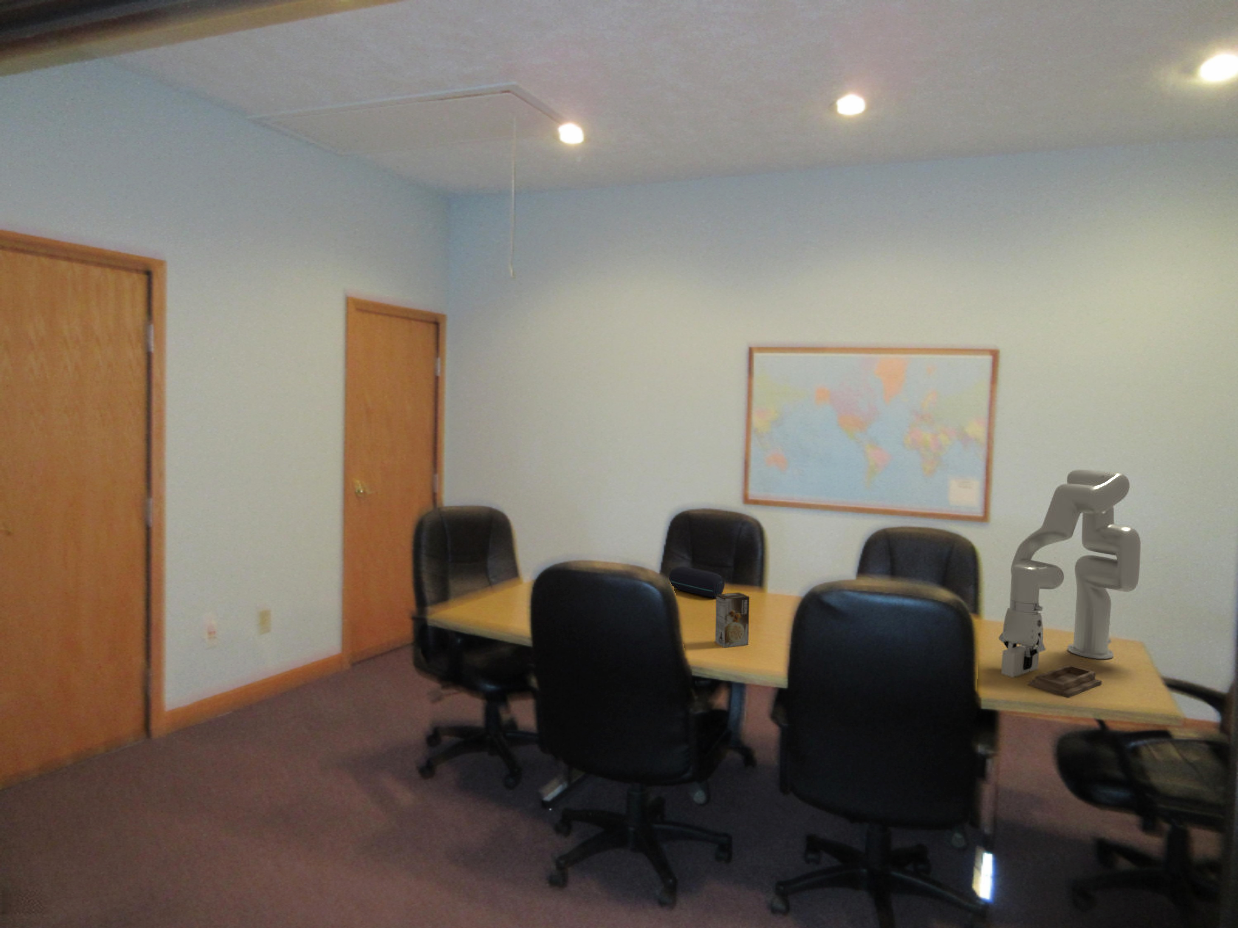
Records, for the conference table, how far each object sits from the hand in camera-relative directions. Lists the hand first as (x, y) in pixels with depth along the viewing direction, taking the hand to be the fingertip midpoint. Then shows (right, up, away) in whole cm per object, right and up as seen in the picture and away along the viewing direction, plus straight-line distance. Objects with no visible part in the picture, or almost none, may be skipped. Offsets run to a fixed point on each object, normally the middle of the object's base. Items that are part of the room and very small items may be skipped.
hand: (1020, 666), depth 232 cm
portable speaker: (-88, +7, +88) cm, 124 cm away
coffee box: (-83, +2, +22) cm, 86 cm away
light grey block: (0, -2, 0) cm, 2 cm away
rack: (+7, -2, -11) cm, 13 cm away
